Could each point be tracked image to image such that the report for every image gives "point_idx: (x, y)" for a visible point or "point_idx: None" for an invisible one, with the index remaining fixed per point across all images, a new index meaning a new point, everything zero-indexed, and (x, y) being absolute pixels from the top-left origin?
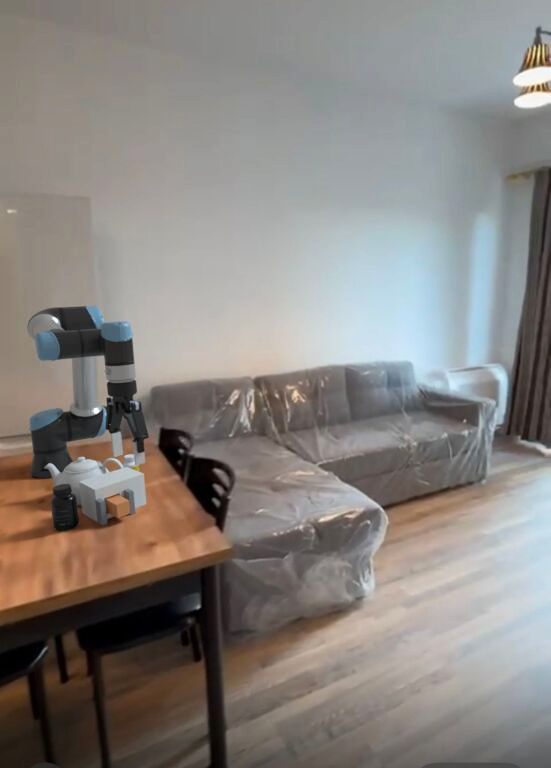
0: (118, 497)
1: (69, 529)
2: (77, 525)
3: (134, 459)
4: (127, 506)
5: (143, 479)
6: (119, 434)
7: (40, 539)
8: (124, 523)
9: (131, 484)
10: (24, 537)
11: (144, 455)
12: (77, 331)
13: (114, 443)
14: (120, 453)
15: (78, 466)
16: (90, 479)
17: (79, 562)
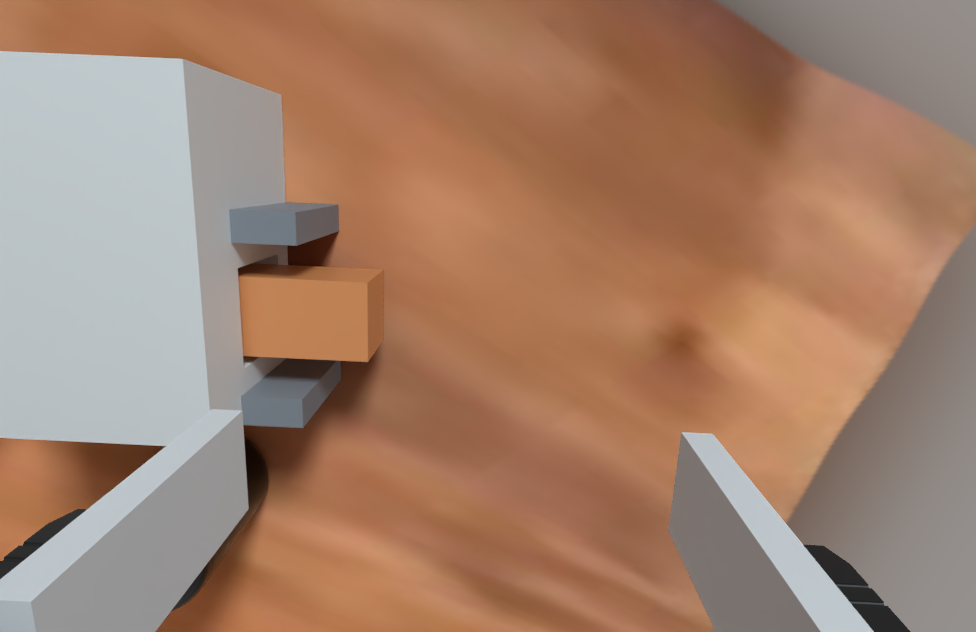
0: (276, 296)
1: (266, 486)
2: (257, 450)
3: (688, 570)
4: (375, 291)
5: (207, 76)
6: (65, 606)
7: (256, 582)
8: (400, 305)
9: (217, 180)
10: (190, 609)
11: (746, 480)
12: None
13: (163, 602)
14: (235, 448)
15: None
16: (2, 372)
17: (553, 579)
